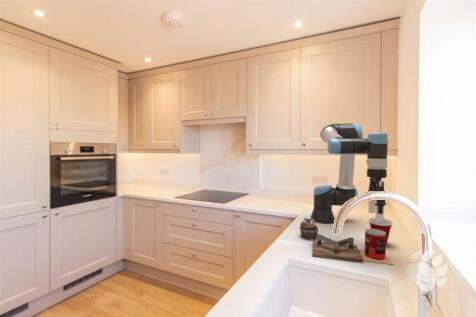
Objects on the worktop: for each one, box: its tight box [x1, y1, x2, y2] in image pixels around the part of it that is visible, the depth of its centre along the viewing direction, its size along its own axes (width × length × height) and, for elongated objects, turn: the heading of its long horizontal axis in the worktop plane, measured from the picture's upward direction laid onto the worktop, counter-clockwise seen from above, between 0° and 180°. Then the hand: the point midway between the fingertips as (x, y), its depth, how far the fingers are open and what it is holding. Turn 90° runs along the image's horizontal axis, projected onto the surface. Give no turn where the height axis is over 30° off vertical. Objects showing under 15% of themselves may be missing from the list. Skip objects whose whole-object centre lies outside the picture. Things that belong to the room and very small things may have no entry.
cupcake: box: [299, 217, 319, 241], centre depth 131 cm, size 10×10×10 cm
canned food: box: [364, 228, 387, 260], centre depth 106 cm, size 8×8×11 cm
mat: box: [359, 249, 394, 266], centre depth 106 cm, size 12×11×1 cm
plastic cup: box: [367, 217, 394, 246], centre depth 121 cm, size 11×11×12 cm
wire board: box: [312, 233, 364, 264], centre depth 111 cm, size 16×20×6 cm
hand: (375, 216), depth 106 cm, fingers open, 13 cm apart
